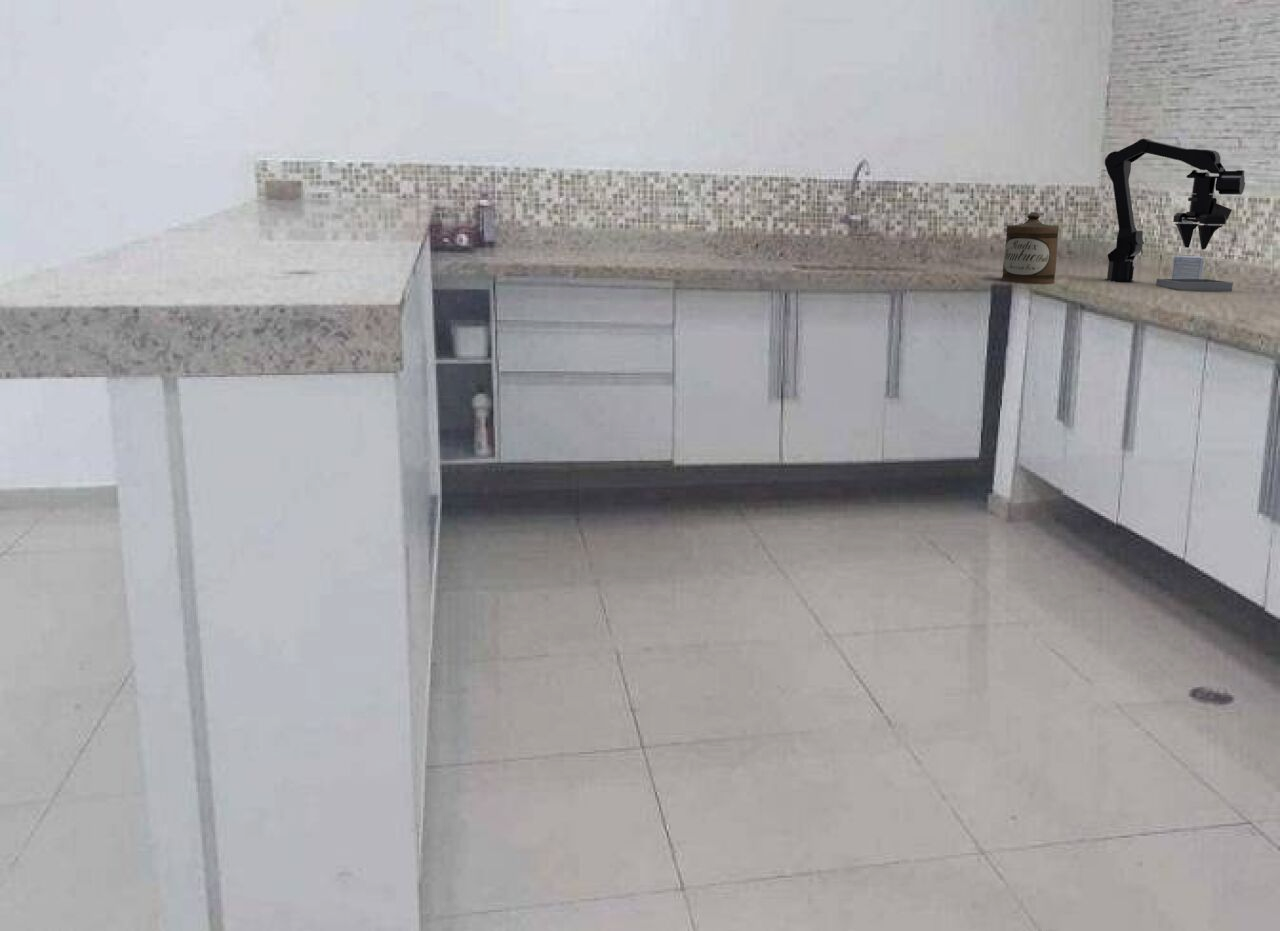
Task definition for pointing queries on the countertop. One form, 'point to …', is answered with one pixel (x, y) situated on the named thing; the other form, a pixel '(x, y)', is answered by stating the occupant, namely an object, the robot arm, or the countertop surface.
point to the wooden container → (1031, 252)
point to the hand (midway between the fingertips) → (1195, 248)
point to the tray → (1195, 284)
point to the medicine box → (1187, 267)
